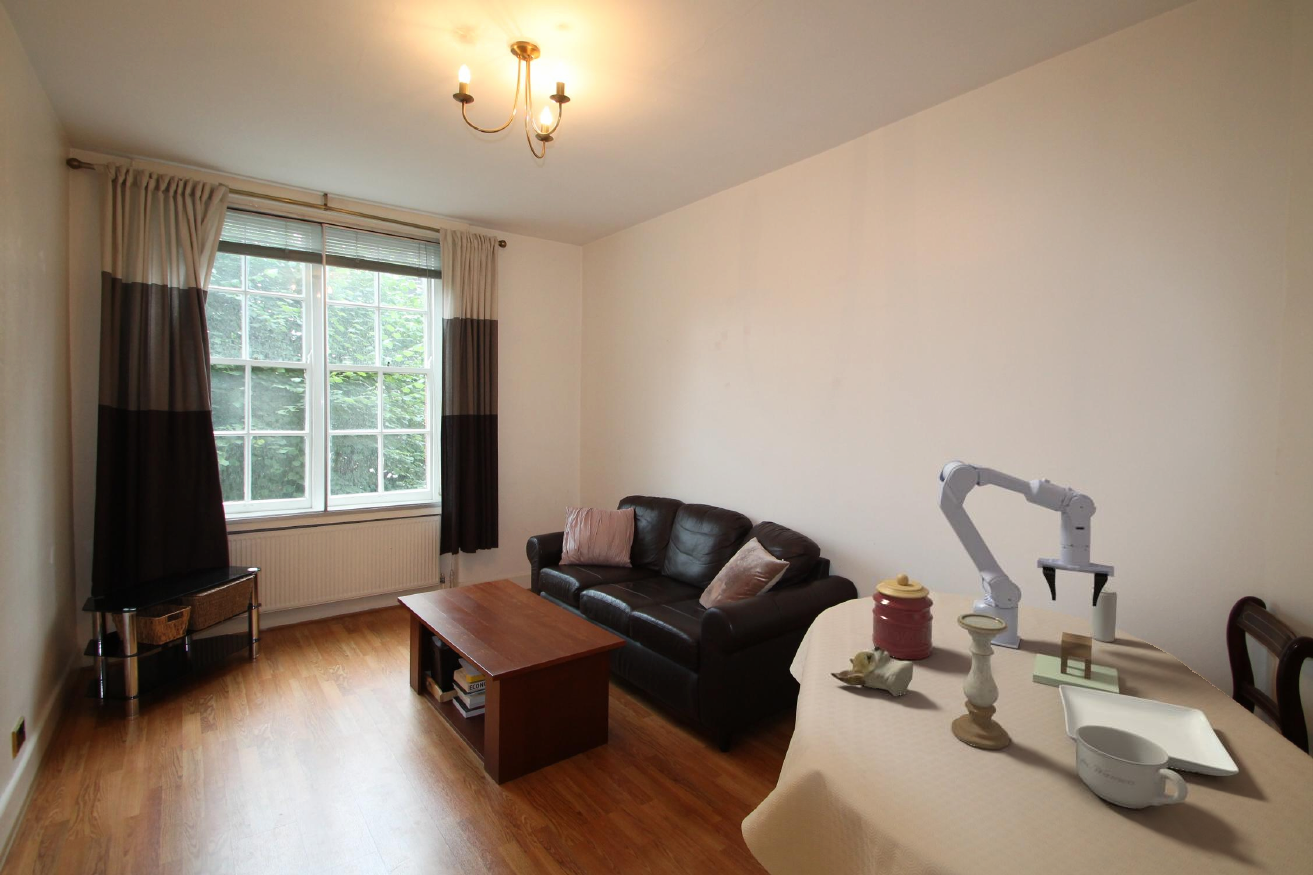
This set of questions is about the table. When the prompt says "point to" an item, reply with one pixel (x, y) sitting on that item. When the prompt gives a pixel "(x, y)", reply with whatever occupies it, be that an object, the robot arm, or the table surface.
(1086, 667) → the walnut stool
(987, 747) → the candle holder
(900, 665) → the ceramic sculpture
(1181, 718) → the salad plate
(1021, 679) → the table surface
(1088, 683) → the sage green board
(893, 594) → the canister
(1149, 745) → the teacup
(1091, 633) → the beverage can
